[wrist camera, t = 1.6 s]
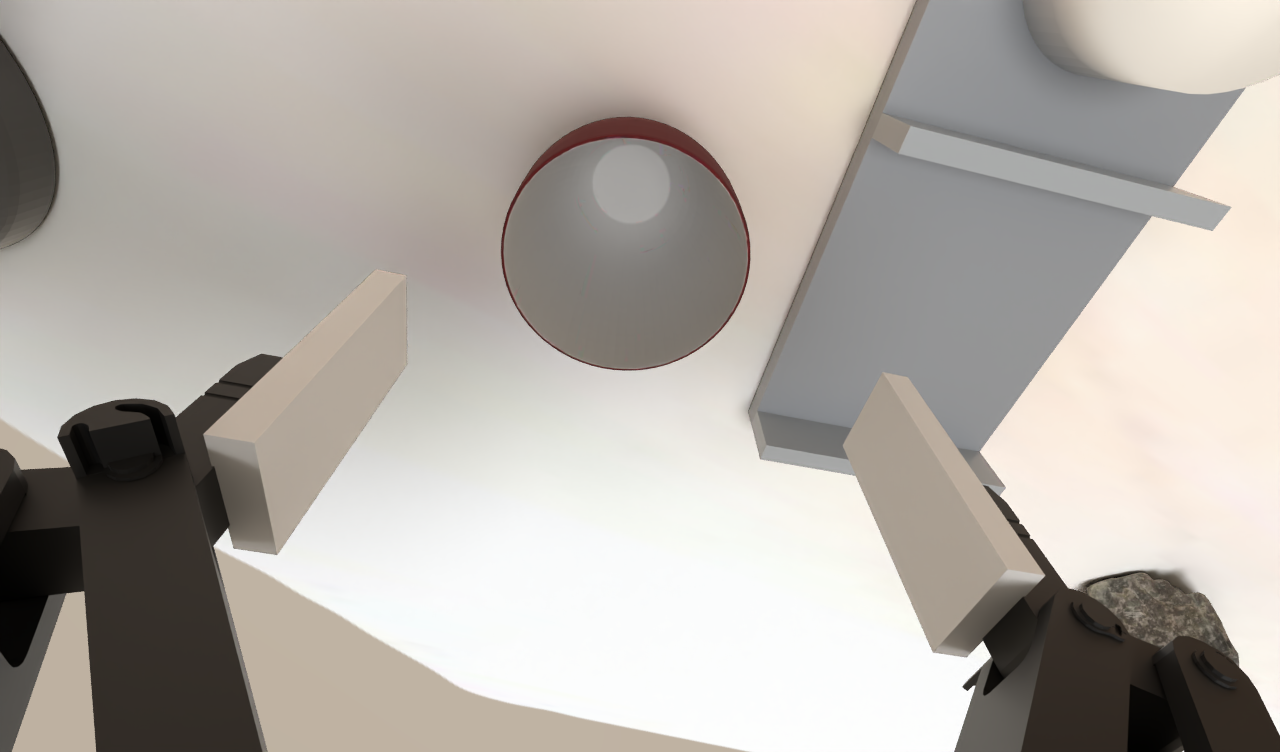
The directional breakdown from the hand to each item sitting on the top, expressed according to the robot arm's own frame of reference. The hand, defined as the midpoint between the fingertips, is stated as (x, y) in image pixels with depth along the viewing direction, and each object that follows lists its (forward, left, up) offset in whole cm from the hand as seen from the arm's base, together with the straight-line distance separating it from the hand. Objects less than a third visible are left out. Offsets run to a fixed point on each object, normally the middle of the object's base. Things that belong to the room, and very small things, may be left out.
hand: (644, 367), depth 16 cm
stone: (+45, -22, -14) cm, 52 cm away
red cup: (0, 0, -14) cm, 14 cm away
